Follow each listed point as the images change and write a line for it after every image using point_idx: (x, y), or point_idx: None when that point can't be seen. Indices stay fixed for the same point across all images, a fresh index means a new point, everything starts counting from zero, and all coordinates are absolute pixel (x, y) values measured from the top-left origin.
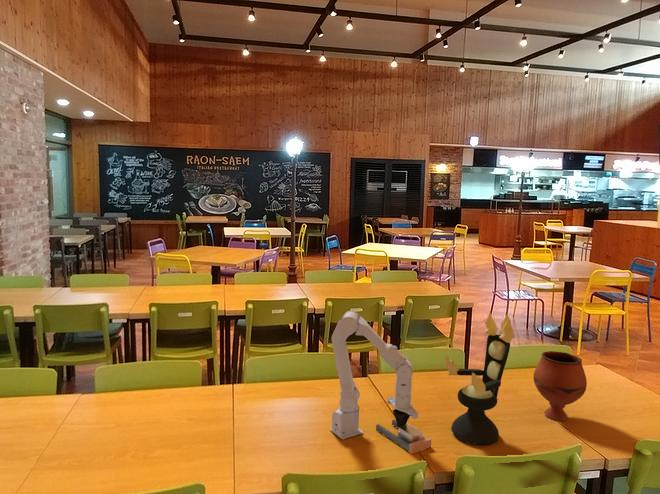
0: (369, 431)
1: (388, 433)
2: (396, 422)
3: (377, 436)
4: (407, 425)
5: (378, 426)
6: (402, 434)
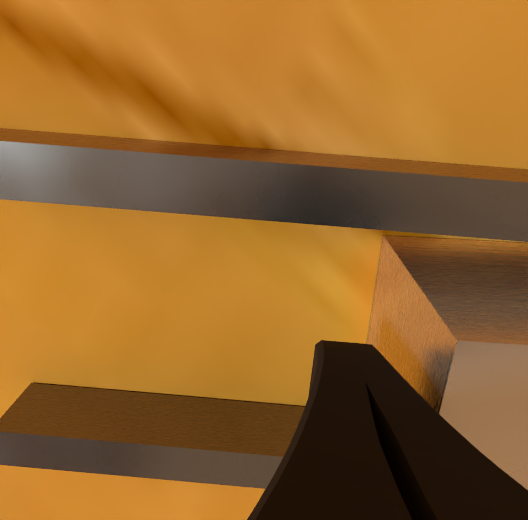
0: (37, 474)
1: (250, 479)
2: (43, 191)
3: (163, 481)
4: (485, 415)
5: (45, 466)
6: None
